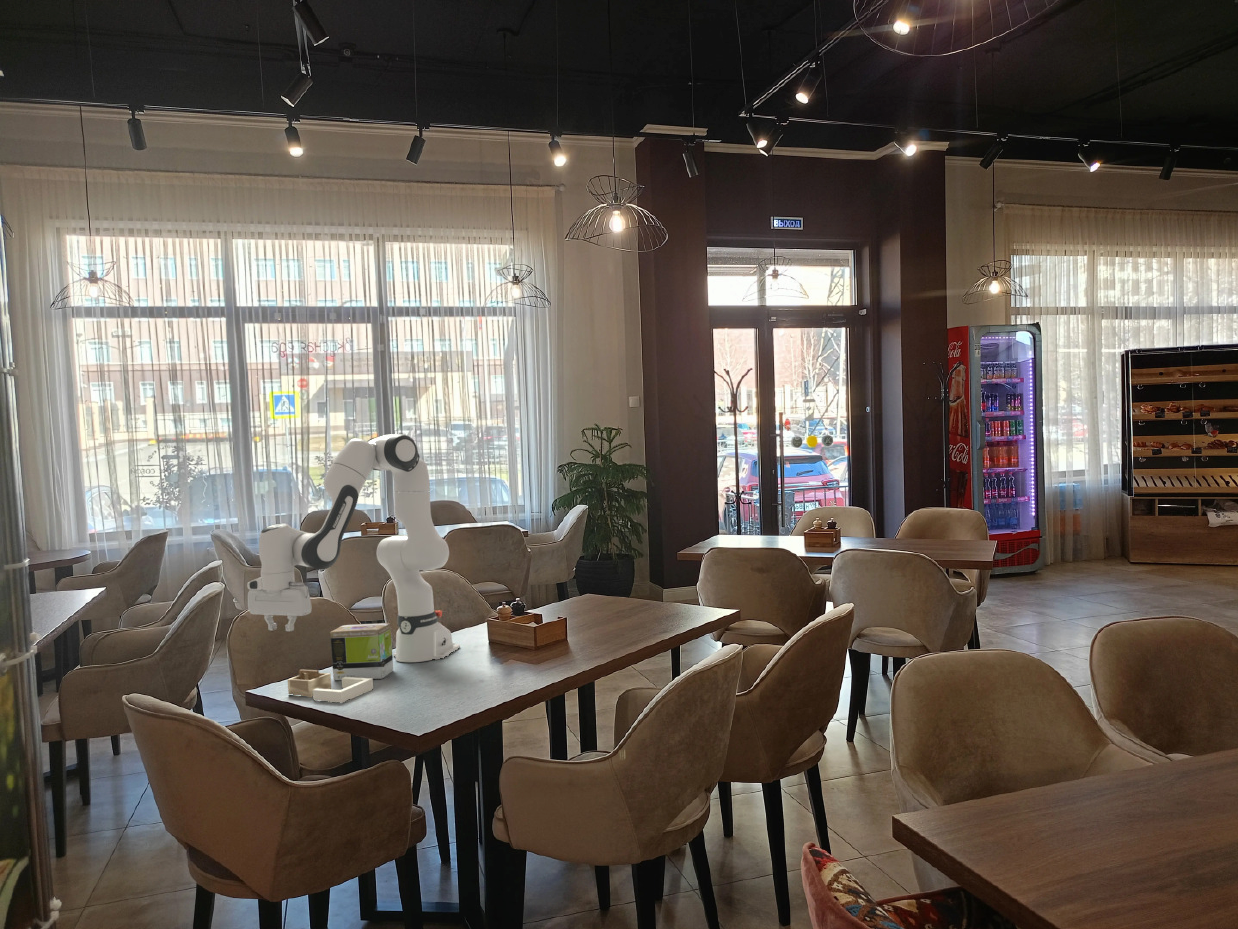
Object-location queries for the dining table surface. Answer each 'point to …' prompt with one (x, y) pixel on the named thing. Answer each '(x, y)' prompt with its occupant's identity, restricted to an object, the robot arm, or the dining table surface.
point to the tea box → (362, 651)
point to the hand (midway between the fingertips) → (281, 630)
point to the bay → (345, 690)
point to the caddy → (308, 682)
